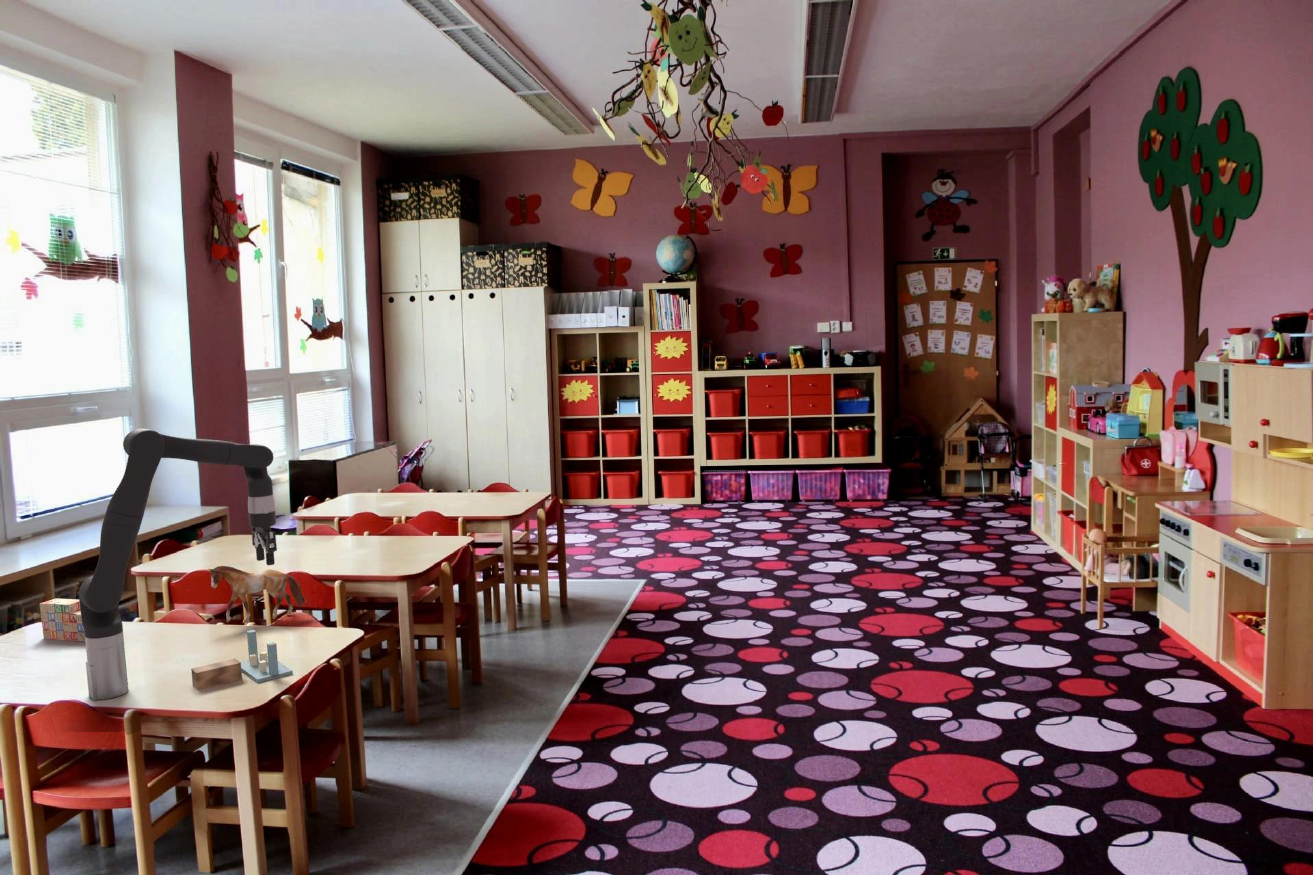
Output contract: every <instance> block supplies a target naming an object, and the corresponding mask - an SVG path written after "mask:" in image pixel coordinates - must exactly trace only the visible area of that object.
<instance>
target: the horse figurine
mask: <svg viewBox="0 0 1313 875" xmlns="http://www.w3.org/2000/svg"><path fill="white" fill-rule="evenodd" d="M207 570H209V571H210V572H209V573H210V579H211V582H210V584H211V585H210V586H211V588H213V589H216V588H217V587H218V584H219V582H220V581H221V580H222V579H224V580H225V581H226V582H227V583H228V585H229V586H230V589H231V591H232V595H231V597H230V601H229V602H228V604H227V609H226V614H225V615H226V623H229V622H230V621H231V620H232V617H231V616H230V613H231V608H232V607H233V605H234V603H235V602H236V601H237V600H238V598H239V599H240V600H241V602H242V603H243V604H242V605H243V607H244V609H245V612H246V616H245V618H244V619H243V621H242V624H246V623H248V622H249V618H250V617H251V613H250V610H249V604H248V599H247V596H246V595H248V594H256V593H260V592H263V591H265V590H266V592H267V593H268V594H269V595H270V596H271V597H273V598H274V599H276V601H277V602H276V605H275V606H274V609H273V610H272V619H273V620H275V619H276V618H277V616H278V613H277V612H278V610H279V607H280V605H281V603H282V602H283V601H284V599H285V601H286V602H287V604H288V611H287V612H286V614H285V615H286V616H289V615H288V614H291V613H292V614H293V609H294V607H293V605H292V599H291V598H292V597H291V595H292V596H293V599H294V601H295V603H296V604H297V605H298V607H299V608H301V607H302V606H304V604H306V603H308V601H307V600H306V599H305V597H304V595H303V592H302V589H301V585H300V583H299V582H298V580H297V579H296V578H295V577H293V576H292V575H289V574H288V573H284V572H282V571H279V570H275V569H266V570H263V571H260V572H255V573H249V572H246V571H243V570H241V569H238V568H235V567H233V566H228V565H227V566H226V565H220V566H218V565H217V566H216V567H214V568H207ZM287 583H288V584H289V590H290V593H291V595H289V594H288V592H287V591H286V584H287ZM292 614H291V615H292Z"/></svg>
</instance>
